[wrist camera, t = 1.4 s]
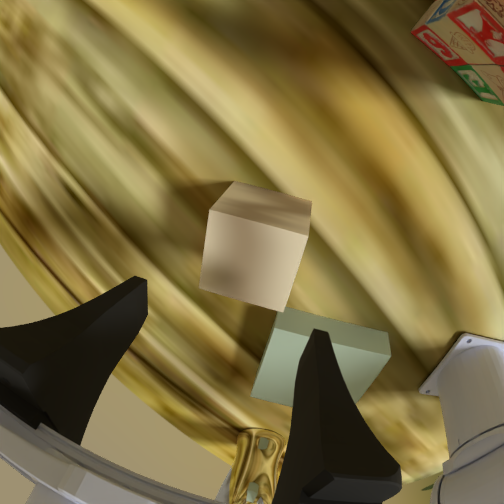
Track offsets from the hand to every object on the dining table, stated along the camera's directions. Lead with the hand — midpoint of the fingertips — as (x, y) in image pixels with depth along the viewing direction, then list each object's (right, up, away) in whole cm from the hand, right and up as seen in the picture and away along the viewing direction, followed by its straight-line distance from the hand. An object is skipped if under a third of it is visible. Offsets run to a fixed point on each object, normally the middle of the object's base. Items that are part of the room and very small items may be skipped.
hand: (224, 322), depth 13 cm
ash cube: (+2, +5, +8) cm, 10 cm away
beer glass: (+2, -20, +22) cm, 30 cm away
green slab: (+7, -6, +13) cm, 16 cm away
